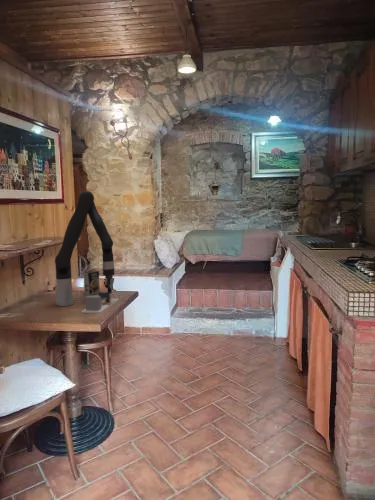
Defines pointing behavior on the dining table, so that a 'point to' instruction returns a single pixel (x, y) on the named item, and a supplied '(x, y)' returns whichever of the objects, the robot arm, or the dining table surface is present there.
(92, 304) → the gauge base
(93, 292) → the coffee box
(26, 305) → the dining table surface
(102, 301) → the tall dark grey box
